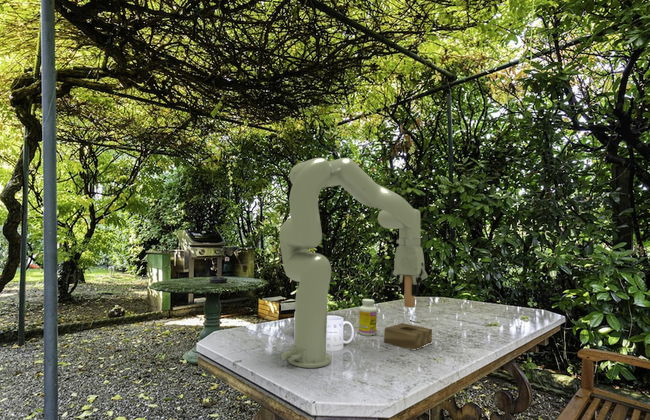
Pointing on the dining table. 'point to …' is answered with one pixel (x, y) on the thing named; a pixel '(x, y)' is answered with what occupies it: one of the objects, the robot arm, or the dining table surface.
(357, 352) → the dining table surface
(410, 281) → the peg
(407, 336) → the socket block
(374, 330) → the supplement bottle
